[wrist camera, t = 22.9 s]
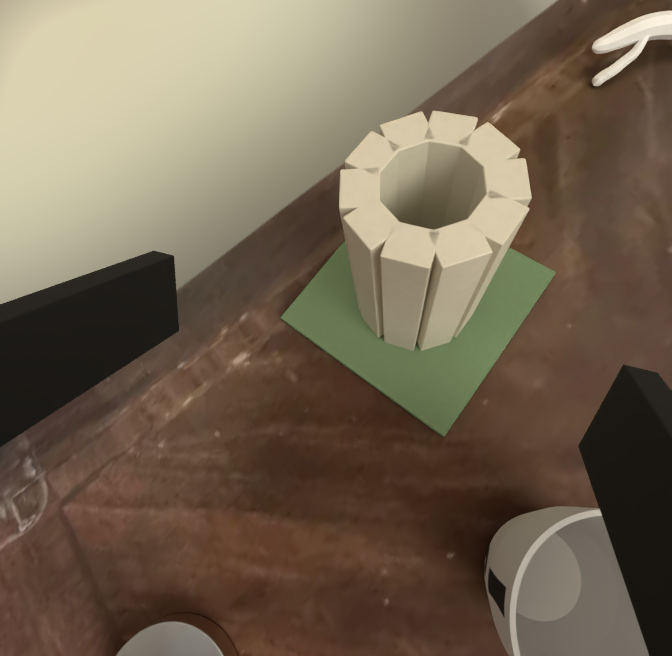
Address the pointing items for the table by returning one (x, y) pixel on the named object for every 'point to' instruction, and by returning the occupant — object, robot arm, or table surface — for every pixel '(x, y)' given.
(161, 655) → the stand
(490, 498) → the table surface
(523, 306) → the mat
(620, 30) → the owl
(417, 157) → the cream slatted holder
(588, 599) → the cup
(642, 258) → the table surface
